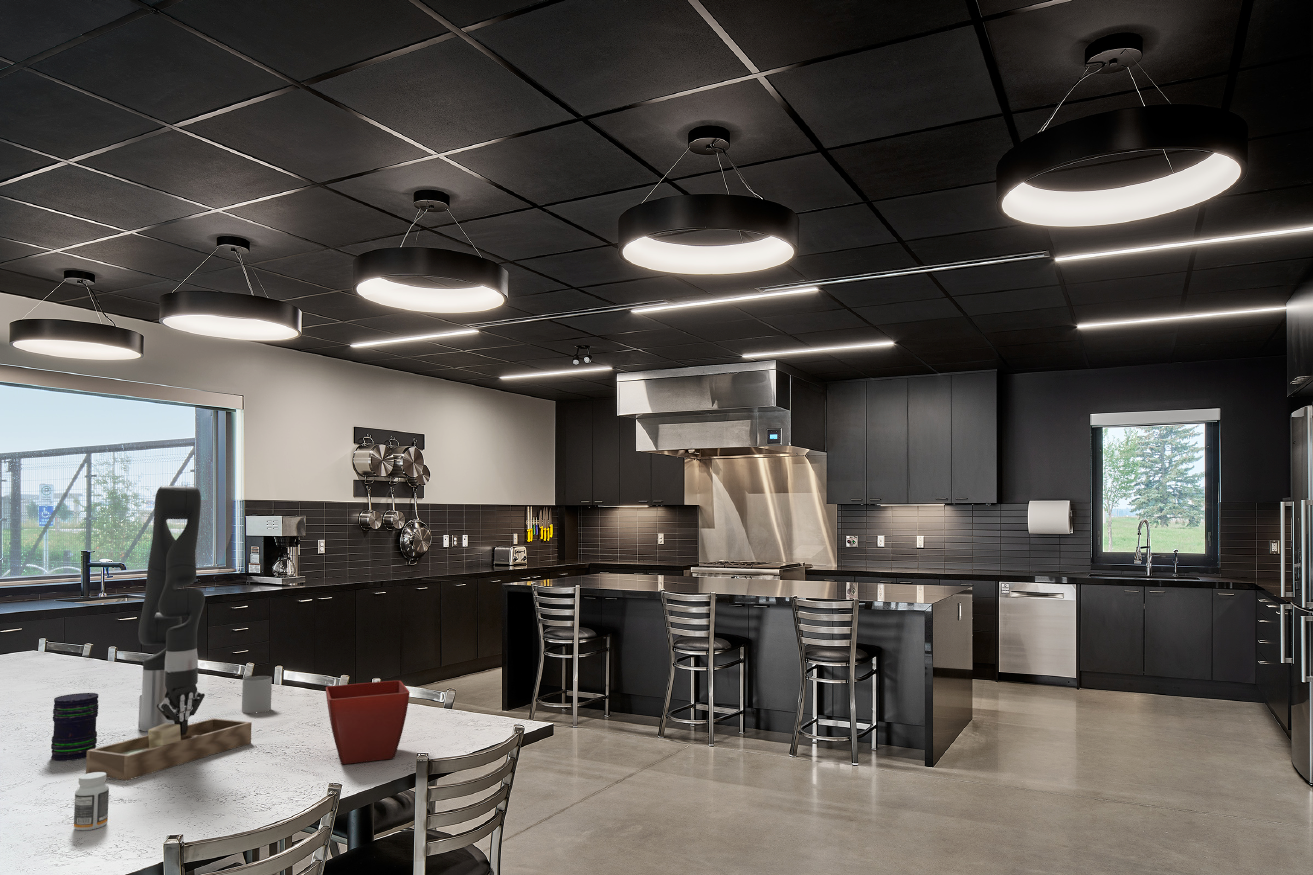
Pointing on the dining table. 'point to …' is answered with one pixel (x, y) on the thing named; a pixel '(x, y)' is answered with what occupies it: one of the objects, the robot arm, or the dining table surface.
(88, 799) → the pill bottle
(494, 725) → the dining table surface
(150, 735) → the maple block
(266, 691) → the cup
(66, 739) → the storage jar
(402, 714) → the plant pot
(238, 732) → the long open wooden box
